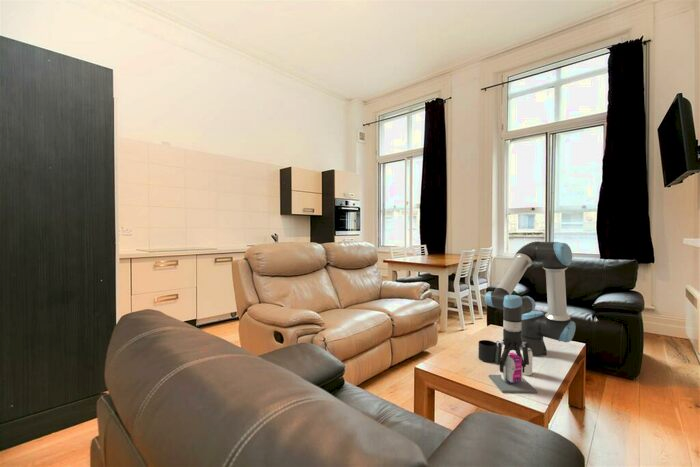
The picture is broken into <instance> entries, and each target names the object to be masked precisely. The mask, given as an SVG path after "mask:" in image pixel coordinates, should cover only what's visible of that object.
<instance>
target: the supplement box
mask: <svg viewBox="0 0 700 467" xmlns="http://www.w3.org/2000/svg"><path fill="white" fill-rule="evenodd" d="M504 365H505V366H506V380H507V381H508V382H510V383H513V382H521V369H522V357H519V356H518V355H517V354H516V352H509V353H508V356H507V359H506V361H505V364H504Z"/></svg>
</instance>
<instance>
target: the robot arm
mask: <svg viewBox="0 0 700 467" xmlns="http://www.w3.org/2000/svg"><path fill="white" fill-rule="evenodd" d="M534 263H535V264H536V263H539V264H541V267H542V269H544V270H545V278H546V279H545V280H546V281H545V282H546V294H547V295H546V298H547V300H546V301H547V312H546V313H545V314H544V311H540V310H535V308H536V306H537V304H536V301H535V300H534V299H533V298H532V297H530V296H529V295H523V296H521V295H516V294H513V292H514V290H515V289H516V287H517V286H518V284H519V282H520V280H521V279H522V277H523V276H524V274H525V272H526V271H527V269H528V268H530V267H531V266H532V265H533V264H534ZM572 263H573V252H572V249H571V247H570V246H569V244H568V243H565V242H559V241H540V240H539V241H531V242H529V243H527V244H525V245H523V246H522V247H520V248H519V250H517V251H516V253H515V254H514V256H513V261H512V263H511V264H510V266H509V267H508V269H507V271H506V272H505V273H504V275H503V276H502V278H501V279H500V282H499V283H498V284H497V286H496V287H495V289H494V290H491V291H490V290H489V291H487V292H485V295H484V302H485V303H484V304H486V305H487V306H489V307H491V308H497V309H500V310H501V309H502V310H503V320H502V322H503V325H502V326H503V329H502V335H503V336H502V338H503V339H502V340H501V341H496V344H497V351H496V359H495V362H494V363H496V364H497V365H499V372H500V373H501V374H500V375H501V378H502V379H503V380H505V381H506V366H505V365H504V364H505V361H506V359H507V356H508V353H511V351H514V352H515V354H516V355H518V356H519V357H522V355H521V351H520V348H519V347H522V350H523V358H522V369H521V381H522V377H523V375H522V374H523V373H524V367H526V365H529V359H528V349H527V348H530V349H531V351H532V357H544V356H546V355H547V352H548V351H547V347H546V344H545V342H544V341H545V340H544V338H547V339H550V340H555V341H559V342H563V343H570V342H571V341H572V340H573V339H574V336H575V334H576V333H575V332H576V328H577V327H576V322H574V321H572V320H571V319H572V318H571V315H569V313H568V312H567V308H568V307H567V292H566V290H567V289H566V288H567V286H566V270H567V269H568V268H569V266H570V265H572ZM503 346H504V348H502V347H503ZM523 360H524V361H523Z"/></svg>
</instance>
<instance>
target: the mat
mask: <svg viewBox="0 0 700 467" xmlns="http://www.w3.org/2000/svg"><path fill="white" fill-rule="evenodd" d="M488 378H489V379H490V380H491V381H492V382H493V384H494V385H495V386H496V387H497V389H499V391H500V392H501V393H503V394H504V393H505V394H508V393H509V394H538V389H536V388H535V387H534V386H533V385H532V384H530V383H529V381H527V380H526V379H525V378H524V376H522V381H521V382H513V383H510V382H508V381H507V380H506V381H505V380H503V379H502V378H501V374H488Z"/></svg>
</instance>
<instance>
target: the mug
mask: <svg viewBox="0 0 700 467" xmlns="http://www.w3.org/2000/svg"><path fill="white" fill-rule="evenodd" d="M496 342H497V341H496ZM496 342H495V341H492V340H487V339H482V340H479V341H478V352H477V353H478V359H479V360H480V361H481V362H484V363H489V364H491V363H492V364H493V363H496V362H495V359H496V351H497V344H496Z"/></svg>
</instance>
